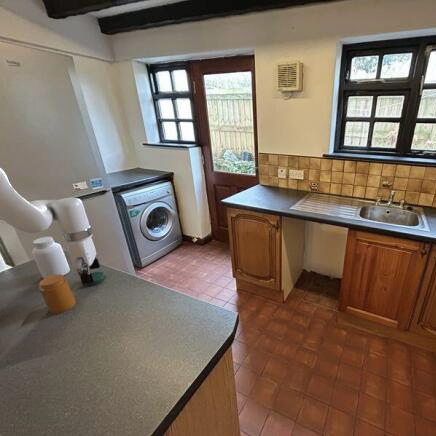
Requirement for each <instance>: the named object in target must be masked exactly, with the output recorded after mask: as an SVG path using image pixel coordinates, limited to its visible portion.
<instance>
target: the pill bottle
mask: <svg viewBox="0 0 436 436" xmlns="http://www.w3.org/2000/svg"><path fill="white" fill-rule="evenodd" d="M32 245H33V249H32V250H31V255H32V257H33V260H34V261H35V264H36V267H37V269H38V271H39V273H40V275H41V277H42V279H45V278H47V277H49V276H52V275H58V274H59V275H63V276H64V277H65V275H67V274H69V272H70V271H71V269H70V265H69V263H68V260H67V258H66V254H65V252H64V250H63V248H62V245H61V243H58V242H55V240H54V238H53V236H43V237H38V238H37V239H35V240H33V241H32Z"/></svg>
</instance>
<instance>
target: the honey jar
mask: <svg viewBox="0 0 436 436" xmlns="http://www.w3.org/2000/svg"><path fill="white" fill-rule="evenodd" d="M38 286H39V288H38V290H39V292H40V295H41V296H42V299H43V300H44V303H45V304H46V307H47V309H48V311H49V313H50V314H52V315H59V314H61V313H65V312H67V311H70V309H73V307H74V306H75V305H76V304H77V301H76V298H75V296H74V294H73V290H72V289H71V285H70V284H69V281H68V279H67V278H66V277H65V275H64V276H63V275H59V274H58V275H52V276H49V277H47V278H45V279H44V278H42V280H40V281H39V284H38Z"/></svg>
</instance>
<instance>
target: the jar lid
mask: <svg viewBox="0 0 436 436" xmlns="http://www.w3.org/2000/svg"><path fill="white" fill-rule="evenodd" d="M91 273H92V276H93V279H94V282H93V283H88V284H83V286H84V287H94V286H98V285H100V284H101V283H103V282H104V281H105V280H106V274H105V272H104V271H93V272H91Z"/></svg>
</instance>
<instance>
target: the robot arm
mask: <svg viewBox="0 0 436 436" xmlns="http://www.w3.org/2000/svg"><path fill="white" fill-rule="evenodd" d="M0 220H2V221H3V222H5V223H7V224H8V225H9V226H10V227H13V228H14V229H17V230H19V231H21V232H23V233H28V234H29V233H30V234H38V233H41V232H44V231H45V230H48V229H49V227H50V226H51V224H52V222H54V221H56V223H57V225H58V227H59V230H60V232H61V235H62V238H63V240H64V242H65V243H66V247H67V252H68V256H69V259H70V262H71V265H72V268H73V269H74V270H76V272H77V274H78V276H79V278H80V280H81V284H82V285H84V284H88V283H93V282H94V279H93V276H92V273H93V272H91V270H96V269H100V268H101V265H100V261H99V258H98V255H97V250H96V247H95V244H94V241H93V238H92V237H93V232H92V228H91V225H90V222H89V219H88V216H87V213H86V210H85V206H84V202H83V201H82V199H80V198H78V197H64V198H60V199H38V200H37V199H36V200H32V201H28V200H26V198H24V197H23V196H21V195H20V194H19V193H18V192H17V190H15V189H14V187H13V186H12V184H11V183H10V181H9V178H8V176H7V174H6V172H5V171H4V170H3V168H1V167H0ZM84 268H85V269H84Z"/></svg>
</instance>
